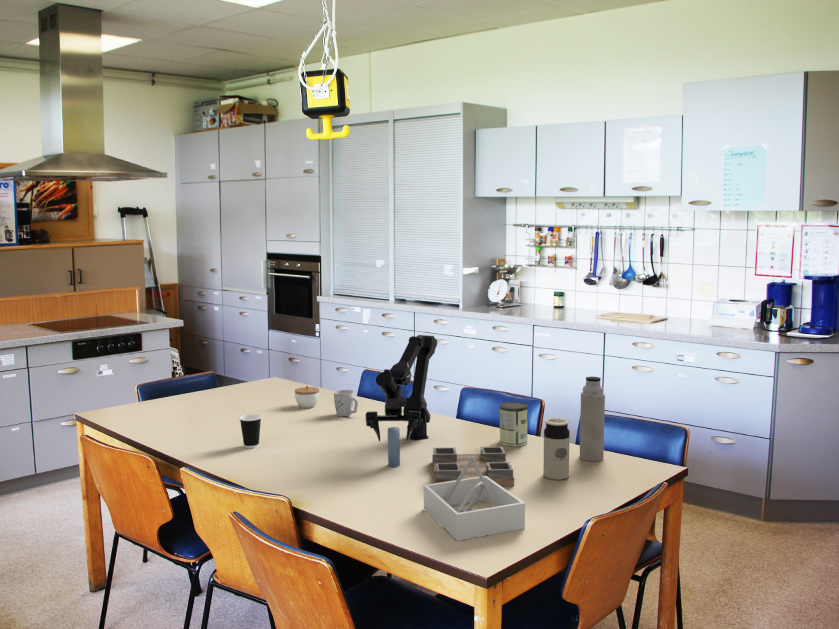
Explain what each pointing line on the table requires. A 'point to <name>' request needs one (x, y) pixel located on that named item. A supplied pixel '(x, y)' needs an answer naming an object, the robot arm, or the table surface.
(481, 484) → the wire frame
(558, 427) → the travel mug
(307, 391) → the lidded jar
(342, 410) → the mug
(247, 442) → the dixie cup
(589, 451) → the thermos bottle
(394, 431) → the stool leg
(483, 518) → the open square box
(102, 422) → the table surface
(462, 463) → the four-cup wooden tray
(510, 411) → the coffee can
